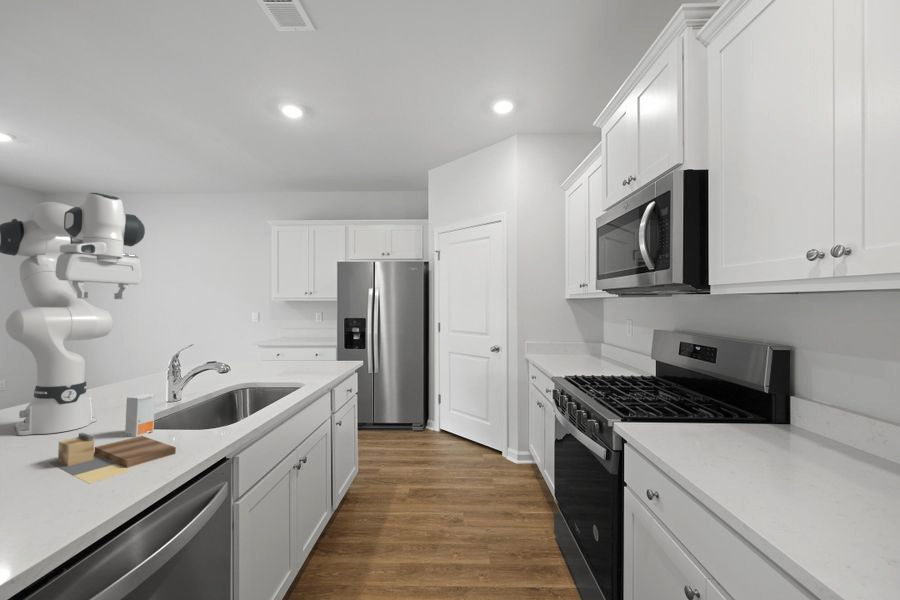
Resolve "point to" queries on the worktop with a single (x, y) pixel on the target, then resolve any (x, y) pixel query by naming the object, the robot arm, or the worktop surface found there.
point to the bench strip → (92, 469)
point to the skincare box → (140, 414)
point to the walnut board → (134, 451)
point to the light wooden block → (76, 450)
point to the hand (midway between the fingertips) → (101, 298)
